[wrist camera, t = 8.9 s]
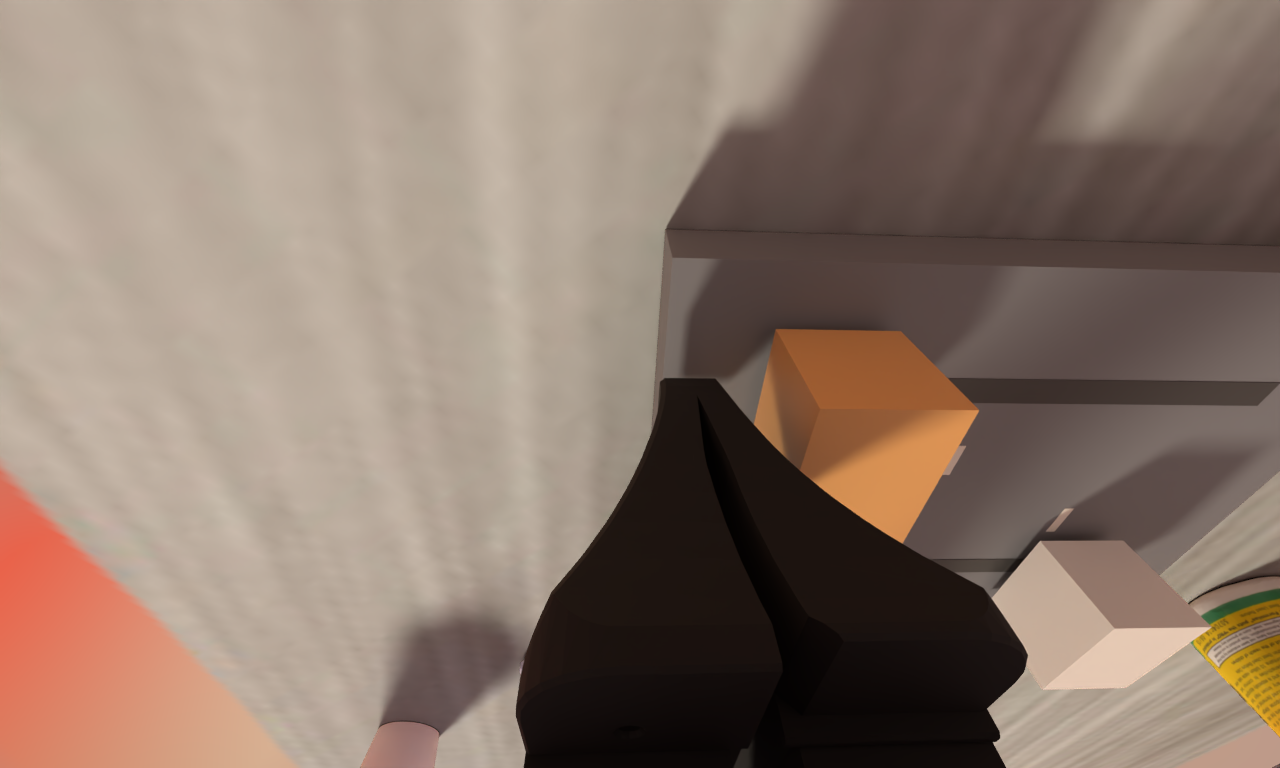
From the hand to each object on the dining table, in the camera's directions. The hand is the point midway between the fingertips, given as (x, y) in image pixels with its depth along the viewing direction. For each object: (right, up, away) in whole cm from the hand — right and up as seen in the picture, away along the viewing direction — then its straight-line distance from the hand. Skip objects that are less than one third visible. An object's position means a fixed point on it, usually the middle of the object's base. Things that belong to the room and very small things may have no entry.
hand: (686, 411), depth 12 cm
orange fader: (+3, 0, +1) cm, 4 cm away
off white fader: (+14, -6, +6) cm, 16 cm away
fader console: (+9, -2, +5) cm, 11 cm away
